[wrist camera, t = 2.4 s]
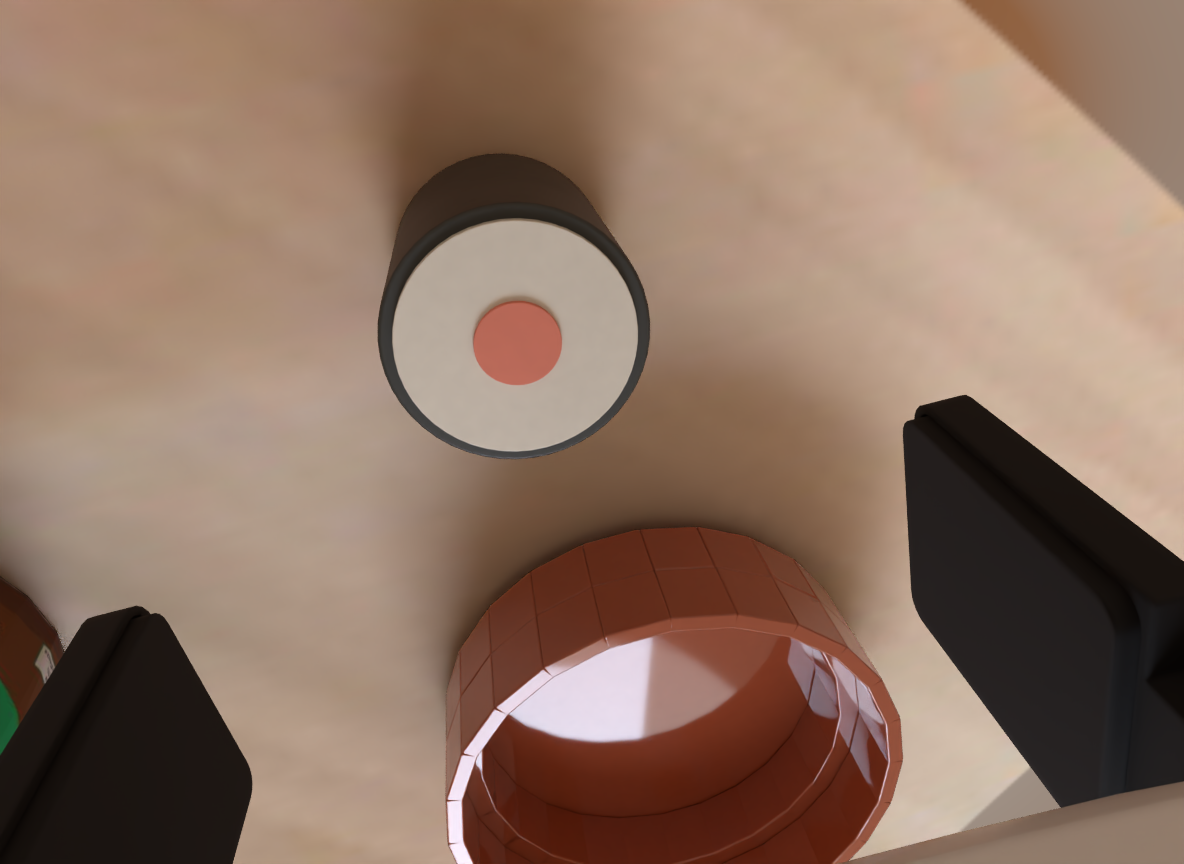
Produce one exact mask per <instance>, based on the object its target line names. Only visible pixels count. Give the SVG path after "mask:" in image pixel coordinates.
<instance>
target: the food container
mask: <svg viewBox="0 0 1184 864" xmlns="http://www.w3.org/2000/svg"><path fill="white" fill-rule="evenodd" d="M63 654H64V652H63V649H62V646H61V643H60V640H59V637H58V634H57V633H56V631H55V630H54V629H53V628H52V626H51V625H50V624H49V623H48V621H47V620H46V619H45V618H44V616H43V615H42V614H41V613H40V611H39V610H38V609H37V608H36V606H35V605H34V604H33V603H32V601H31V600H30V599H29V598H28V597H27V596H26V595H25V594H23V593H22V592H20V591H19V590H17V589H16V588H15V587H13V586H12V585H10V584H9V583H8V582H6V581H5V580H3V579H2V578H1V577H0V755H1V753H2V752H3V750H4V748H5V747H6V745H7V744H8V742H9V740H10V739H11V737H12V736H13V734H14V732H15V731H16V729H17V728H18V726H19V724H20V723H21V721H22V720H23V718H24V716H25V715H26V713H27V712H28V710H29V708H30V707H31V705H32V704H33V702H34V700H35V699H36V697H37V696H38V694H39V692H40V691H41V689H42V688H43V686H44V684H45V683H46V681H47V680H48V678H49V676H50V675H51V673H52V672H53V670H54V668H55V667H56V665H57V664H58V662H59V660H60V659H61V657H62V656H63Z"/></svg>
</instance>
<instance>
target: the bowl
mask: <svg viewBox="0 0 1184 864" xmlns="http://www.w3.org/2000/svg"><path fill="white" fill-rule="evenodd" d="M902 762H903V752H902V737H901V722H900V716H899V714H898V712H897V709H896V707H895V705H894V703H893V701H892V699H891V697H890V695H889V693H888V691H887V689H886V686H885V684H884V682H883V680H882V678H881V677H880V675H879V674H878V672H877V671H876V669H875V667H874V666H873V664H872V663H871V661H870V660H869V658H868V656H867V655H866V653H865V652H864V650H863V649H862V647H861V645H860V644H859V642H858V641H857V639H856V637H855V636H854V634H853V633H852V632H851V630H850V628H849V627H848V625H847V623H846V622H845V620H844V619H843V617H842V616H841V614H840V612H839V611H838V609H837V608H836V606H835V605H834V603H833V601H832V600H831V598H830V597H829V595H828V594H827V592H826V591H825V589H824V588H823V587H822V586H821V585H820V584H819V583H818V582H817V581H816V580H815V579H814V578H813V577H812V576H811V575H810V574H809V573H808V572H807V571H806V570H805V569H804V568H803V567H802V566H801V565H800V564H799V563H798V562H797V561H796V560H794V559H792V558H790V557H788V556H786V555H784V554H782V553H780V552H778V551H776V550H774V549H772V548H770V547H768V546H766V545H764V544H762V543H760V542H758V541H756V540H754V539H752V538H749V537H748V536H743V535H738V534H733V533H728V532H723V531H718V530H713V529H708V528H703V527H697V528H696V527H679V528H655V529H641V530H639V529H637V530H633V531H629V532H626V533H622V534H618V535H614V536H611V537H607V538H603V539H599V540H596V541H592V542H588V543H585V544H583V546H582V545H580V546H578V547H576V548H574V549H572V550H570V551H568V552H566V553H564V554H562V555H560V556H559V557H557V558H555V559H553V560H551V561H549V562H547V563H545V564H543V565H541V566H539V567H537V568H535V569H534V570H532V571H531V572H529V573H528V574H526V575H525V576H524V577H523V578H522V579H521V580H519V581H518V582H517V583H516V584H515V585H514V586H512V587H511V588H510V589H509V590H508V591H507V592H506V593H504V594H503V595H502V596H501V597H500V598H499V599H497V600H496V601H495V602H494V603H493V604H492V605H490V607H489V609H487V611H486V612H485V614H484V615H483V616H482V618H481V619H480V621H479V622H478V624H477V625H476V627H475V628H474V630H473V631H472V633H471V634H470V636H469V637H468V638H467V640H466V641H465V643H464V644H463V646H462V647H461V649H460V650H459V653H458V656H457V659H456V663H455V666H454V669H453V672H452V676H451V679H450V682H449V685H448V689H447V694H446V822H447V842H448V846H449V848H450V850H451V852H452V854H453V857H454V859H455V861H456V863H457V864H839V863H843V862H846V861H849V860H850V859H851V858H852V857H853V856H854V855H855V854H856V853H857V852H858V851H859V850H860V849H861V847H862V846H863V845H864V844H865V843H866V841H868V839H869V838H870V836H871V834H872V833H873V831H874V830H875V828H876V826H877V825H878V823H879V821H880V820H881V818H882V817H883V815H884V813H885V812H886V810H887V808H888V807H889V805H890V804H891V801H892V798H893V794H894V791H895V787H896V784H897V780H898V777H899V773H900V769H901V766H902Z"/></svg>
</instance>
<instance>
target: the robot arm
mask: <svg viewBox="0 0 1184 864" xmlns="http://www.w3.org/2000/svg"><path fill="white" fill-rule="evenodd" d="M903 444H904V462H905V481H906V500H907V519H908V537H909V556H910V575H911V591H912V598H913V602H914V605H915V608H916V610H917V612H918V614H919V617H920V618H921V620H922V621H923V623H924V624H925V625H926V627H927V628H928V629H929V631H930V632H931V634H932V635H933V636H934V638H935V639H936V640H937V642H938V643H939V644H940V646H941V647H942V648H943V650H944V651H945V652H946V654H947V655H948V656H949V658H950V659H951V660H952V662H953V663H954V664H955V666H956V667H957V669H958V670H959V671H960V673H961V674H962V675H963V677H964V678H965V679H966V681H967V682H968V683H969V685H970V686H971V687H972V689H973V690H974V691H975V693H976V694H977V695H978V697H979V698H980V699H981V701H982V702H983V704H984V705H985V706H986V708H987V709H988V710H989V712H990V713H991V714H992V716H993V717H994V718H995V720H996V721H997V722H998V724H999V725H1000V726H1001V728H1002V729H1003V730H1004V732H1005V733H1006V734H1007V736H1008V737H1009V739H1010V740H1011V741H1012V743H1013V744H1014V745H1015V747H1016V748H1017V749H1018V751H1019V752H1020V753H1021V755H1022V756H1023V757H1024V759H1025V760H1026V761H1027V763H1028V764H1029V765H1030V767H1031V768H1032V769H1033V771H1034V772H1035V774H1036V775H1037V776H1038V778H1039V779H1040V780H1041V782H1042V783H1043V784H1044V785H1045V787H1046V788H1047V790H1048V791H1049V792H1050V794H1051V795H1052V796H1053V798H1054V799H1055V800H1056V802H1057V803H1058V804H1059V806H1060V807H1061V808H1058V809H1054V810H1050V811H1046V812H1041V813H1037V814H1033V815H1029V816H1025V817H1021V818H1017V819H1012V820H1009V821H1004V822H1000V823H996V824H992V825H987V826H984V827H979V828H975V829H971V830H967V831H962V832H958V833H955V834H951V835H947V836H943V837H939V838H935V839H931V840H928V841H924V842H920V843H916V844H912V845H908V846H904V847H901V848H897V849H893V850H889V851H885V852H881V853H877V854H873V855H870V856H866V857H862V858H858V859H854V860H850V861H846V862H843V863H839V864H1184V561H1182V560H1181V559H1180V558H1179V557H1177V556H1176V555H1175V554H1173V553H1172V552H1171V551H1169V550H1168V549H1167V548H1166V547H1164V546H1163V545H1162V544H1160V543H1159V542H1158V541H1157V540H1155V539H1154V538H1153V537H1151V536H1150V535H1149V534H1147V533H1146V532H1145V531H1144V530H1142V529H1141V528H1140V527H1138V526H1137V525H1136V524H1134V523H1133V522H1132V521H1131V520H1129V519H1128V518H1127V517H1125V516H1124V515H1123V514H1122V513H1120V512H1119V511H1118V510H1116V509H1115V508H1114V507H1112V506H1111V505H1110V504H1109V503H1107V502H1106V501H1105V500H1103V499H1102V498H1101V497H1100V496H1098V495H1097V494H1096V493H1094V492H1093V491H1092V490H1090V489H1089V488H1088V487H1087V486H1085V485H1084V484H1083V483H1081V482H1080V481H1079V480H1077V479H1076V478H1075V477H1074V476H1072V475H1071V474H1070V473H1068V472H1067V471H1066V470H1065V469H1063V468H1062V467H1061V466H1059V465H1058V464H1057V463H1055V462H1054V461H1053V460H1052V459H1050V458H1049V457H1048V456H1046V455H1045V454H1044V453H1042V452H1041V451H1040V450H1039V449H1037V448H1036V447H1035V446H1033V445H1032V444H1031V443H1030V442H1028V441H1027V440H1026V439H1024V438H1023V437H1022V436H1020V435H1019V434H1018V433H1017V432H1015V431H1014V430H1013V429H1011V428H1010V427H1009V426H1008V425H1006V424H1005V423H1004V422H1002V421H1001V420H1000V419H998V418H997V417H996V416H995V415H993V414H992V413H991V412H989V411H988V410H987V409H985V408H984V407H983V406H982V405H980V404H979V403H978V402H976V401H975V400H974V399H973V398H971V397H969V396H967V395H961V396H957V397H953V398H949V399H945V400H941V401H937V402H934V403H930V404H926V405H922V406H919V407H918V408H917V410H916V413H915V419H914V420H910V421H907V422H906V423H905V424H904V427H903ZM251 794H252V775H251V771H250V768H249V765H248V763H247V761H246V759H245V757H244V756H243V754H242V752H241V750H240V749H239V747H238V745H237V743H236V742H235V740H234V738H233V736H232V735H231V733H230V731H229V729H228V728H227V726H226V724H225V722H224V721H223V719H222V717H221V715H220V714H219V712H218V710H217V708H216V706H215V705H214V703H213V701H212V699H211V698H210V696H209V694H208V692H207V691H206V689H205V687H204V685H203V684H202V682H201V680H200V678H199V677H198V675H197V673H196V671H195V670H194V668H193V666H192V664H191V663H190V661H189V659H188V657H187V655H186V654H185V652H184V650H183V648H182V647H181V645H180V643H179V641H178V640H177V638H176V636H175V634H174V633H173V631H172V629H171V627H170V626H169V624H168V622H167V621H166V619H165V618H164V617H163V616H162V615H160V614H157V613H154V614H150V613H149V612H148V611H147V610H146V609H144V608H143V607H140V606H134V607H130V608H126V609H122V610H118V611H114V612H110V613H106V614H102V615H98V616H94V617H91V618H89V619H87V620H86V621H85V622H84V623H83V624H82V625H81V627H80V629H79V630H78V632H77V633H76V635H75V637H74V638H73V640H72V641H71V643H70V645H69V646H68V648H67V649H66V651H65V653H64V654H63V656H62V657H61V659H60V660H59V662H58V664H57V665H56V667H55V668H54V670H53V672H52V673H51V675H50V676H49V678H48V680H47V681H46V683H45V684H44V686H43V688H42V689H41V691H40V692H39V694H38V696H37V697H36V699H35V700H34V702H33V704H32V705H31V707H30V708H29V710H28V712H27V713H26V715H25V716H24V718H23V720H22V721H21V723H20V724H19V726H18V728H17V729H16V731H15V732H14V734H13V736H12V737H11V739H10V740H9V742H8V744H7V745H6V747H5V748H4V750H3V752H2V753H1V755H0V864H233V860H234V857H235V853H236V849H237V846H238V842H239V838H240V835H241V831H242V828H243V824H244V820H245V817H246V813H247V809H248V806H249V802H250V798H251Z"/></svg>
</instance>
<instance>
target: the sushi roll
mask: <svg viewBox="0 0 1184 864" xmlns="http://www.w3.org/2000/svg"><path fill="white" fill-rule="evenodd" d="M649 340H650V318H649V310H648V304H647V300H646V296H645V292H644V289H643V286H642V284H641V282H640V279H639V277H638V275H637V273H636V271H635V269H634V268H633V266H632V264H631V263H630V261H629V259H628V258H627V256H626V255H625V253H624V252H623V250H622V249H621V247H620V246H619V244H618V243H617V242H616V240H615V239H614V237H613V236H612V234H611V233H610V231H609V230H608V228H607V227H606V225H605V224H604V223H603V221H602V220H601V218H600V217H599V215H598V214H597V212H596V211H595V209H594V208H593V206H592V205H591V204H590V202H589V201H588V199H587V198H586V197H585V195H584V194H583V193H582V192H581V190H580V189H579V188H578V187H577V186H576V185H575V184H574V183H573V182H572V181H571V180H570V179H568V178H567V177H566V176H564V175H563V174H562V173H560V172H559V171H557V170H556V169H554V168H552V167H550V166H548V165H546V164H545V163H542V162H539V161H537V160H534V159H531V158H527V157H523V156H519V155H511V154H487V155H481V156H476V157H471V158H468V159H465V160H462V161H459V162H457V163H455V164H453V165H451V166H449V167H447V168H445V169H444V170H442V171H441V172H439V173H438V174H436V175H435V176H434V177H432V178H431V179H430V180H429V181H428V182H427V183H426V184H425V185H423V187H422V188H421V189H420V190H419V191H418V193H417V194H416V195H415V196H414V198H413V199H412V201H411V202H410V204H409V205H408V207H407V209H406V211H405V213H404V215H403V218H402V220H401V222H400V226H399V229H398V232H397V236H396V240H395V245H394V249H393V253H392V258H391V262H390V266H389V270H388V275H387V279H386V283H385V288H384V292H383V296H382V300H381V305H380V311H379V318H378V346H379V353H380V359H381V362H382V366H383V369H384V372H385V375H386V377H387V380H388V382H389V384H390V386H391V389H392V390H393V392H394V394H395V395H396V397H397V398H398V400H399V402H400V403H401V404H402V406H403V407H404V408H405V409H406V411H407V412H408V413H409V414H410V415H411V417H413V418H414V419H415V420H416V421H417V422H418V423H419V424H420V425H421V426H422V427H423V428H425V429H426V430H427V431H429V432H430V433H431V434H433V435H434V436H436V437H437V438H439V439H441V440H442V441H444V442H446V443H448V444H450V445H451V446H454V447H456V448H459V449H461V450H464V451H466V452H469V453H473V454H477V455H480V456H485V457H492V458H498V459H524V458H534V457H539V456H544V455H549V454H552V453H555V452H558V451H561V450H564V449H566V448H569V447H571V446H573V445H575V444H577V443H579V442H581V441H583V440H584V439H586V438H588V437H589V436H591V435H593V434H594V433H595V432H597V431H598V430H599V429H600V428H602V427H603V426H604V425H605V424H607V423H608V422H609V421H610V420H611V419H612V418H613V417H614V416H615V415H616V414H617V413H618V411H619V410H620V409H621V408H622V406H623V405H624V404H625V402H626V401H627V400H628V398H629V397H630V395H631V393H632V392H633V390H634V388H635V387H636V385H637V383H638V380H639V378H640V376H641V373H642V371H643V368H644V364H645V361H646V357H647V354H648V347H649Z"/></svg>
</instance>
